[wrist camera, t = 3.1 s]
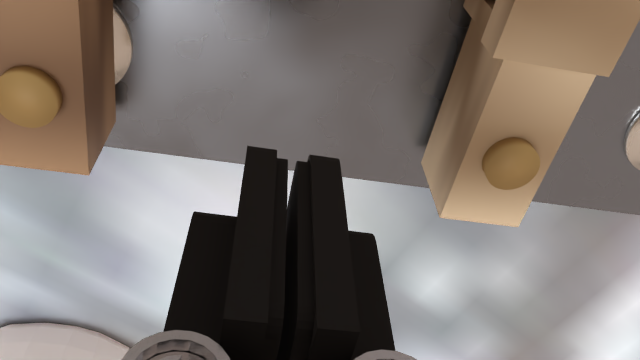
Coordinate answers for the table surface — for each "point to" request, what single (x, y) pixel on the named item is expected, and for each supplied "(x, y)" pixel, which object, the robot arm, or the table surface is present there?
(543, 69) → the sliding jaw
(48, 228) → the table surface
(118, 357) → the cup
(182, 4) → the strip
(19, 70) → the rail
